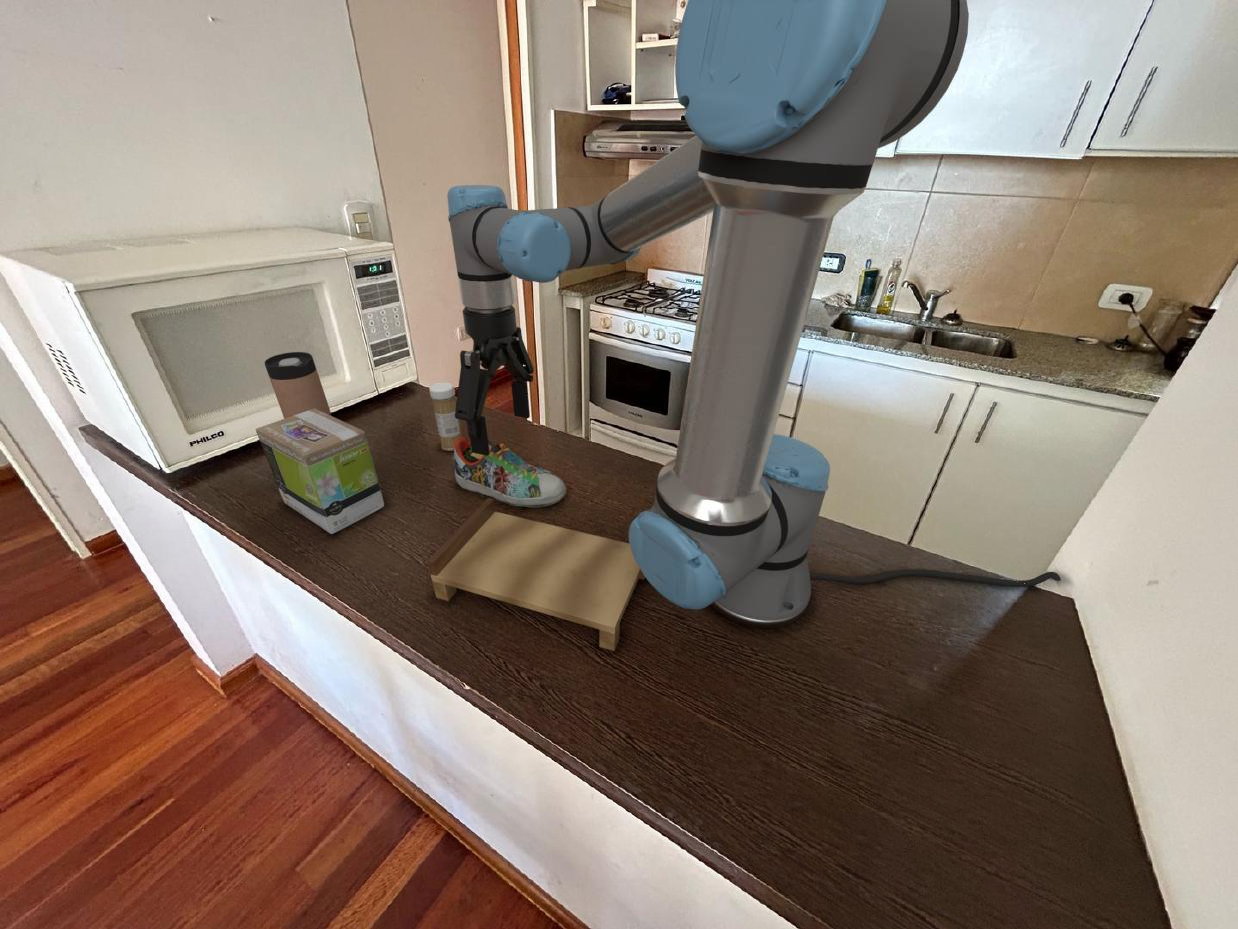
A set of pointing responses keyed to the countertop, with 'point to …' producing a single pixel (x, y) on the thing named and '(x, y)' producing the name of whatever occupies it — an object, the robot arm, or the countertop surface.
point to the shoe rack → (539, 569)
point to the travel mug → (296, 383)
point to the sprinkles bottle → (445, 414)
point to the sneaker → (505, 476)
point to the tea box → (322, 468)
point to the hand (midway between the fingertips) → (502, 433)
